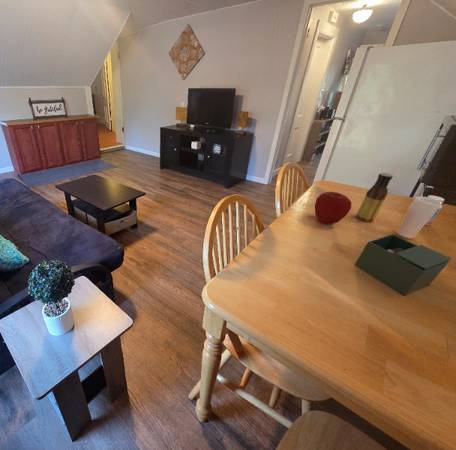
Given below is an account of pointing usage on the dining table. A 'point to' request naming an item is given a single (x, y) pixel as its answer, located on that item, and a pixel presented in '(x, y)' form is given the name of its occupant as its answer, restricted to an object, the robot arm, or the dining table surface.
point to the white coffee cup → (417, 216)
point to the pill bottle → (437, 210)
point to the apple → (332, 207)
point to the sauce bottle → (374, 198)
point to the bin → (395, 265)
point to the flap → (423, 256)
